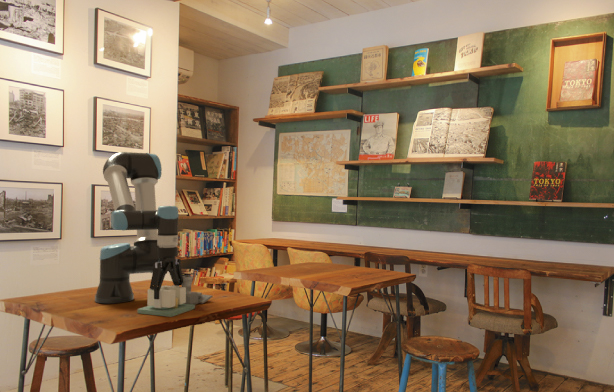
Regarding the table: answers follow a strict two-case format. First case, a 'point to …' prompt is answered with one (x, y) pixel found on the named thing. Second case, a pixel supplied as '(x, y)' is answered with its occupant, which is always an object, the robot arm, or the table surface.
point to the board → (167, 309)
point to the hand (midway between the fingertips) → (166, 304)
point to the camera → (193, 293)
